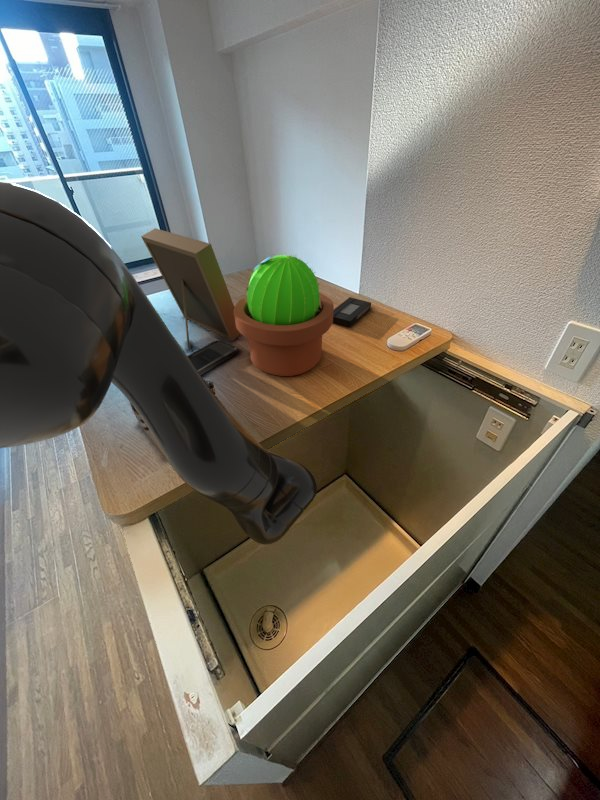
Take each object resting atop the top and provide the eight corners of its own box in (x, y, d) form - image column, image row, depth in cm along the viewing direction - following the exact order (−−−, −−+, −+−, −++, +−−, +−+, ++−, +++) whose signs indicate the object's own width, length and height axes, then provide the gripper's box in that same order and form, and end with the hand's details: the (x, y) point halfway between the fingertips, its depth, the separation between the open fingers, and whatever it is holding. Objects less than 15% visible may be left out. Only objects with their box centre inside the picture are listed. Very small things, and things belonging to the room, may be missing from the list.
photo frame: (195, 312, 101) (174, 223, 85) (244, 334, 91) (230, 237, 74) (153, 331, 93) (120, 236, 76) (201, 358, 82) (174, 254, 66)
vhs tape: (370, 308, 102) (371, 302, 100) (349, 327, 93) (350, 321, 92) (349, 303, 105) (349, 297, 104) (326, 320, 96) (327, 314, 95)
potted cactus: (345, 349, 84) (354, 246, 68) (298, 395, 71) (296, 281, 54) (277, 327, 94) (270, 232, 77) (224, 364, 80) (202, 258, 63)
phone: (238, 348, 83) (190, 376, 74) (239, 352, 84) (191, 380, 75) (217, 339, 87) (169, 364, 78) (218, 342, 87) (171, 368, 79)
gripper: (240, 390, 50) (184, 347, 60) (154, 437, 43) (106, 380, 53) (245, 424, 55) (193, 379, 65) (169, 471, 48) (123, 413, 58)
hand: (155, 380), depth 59 cm, fingers closed on vaping device, 2 cm apart
